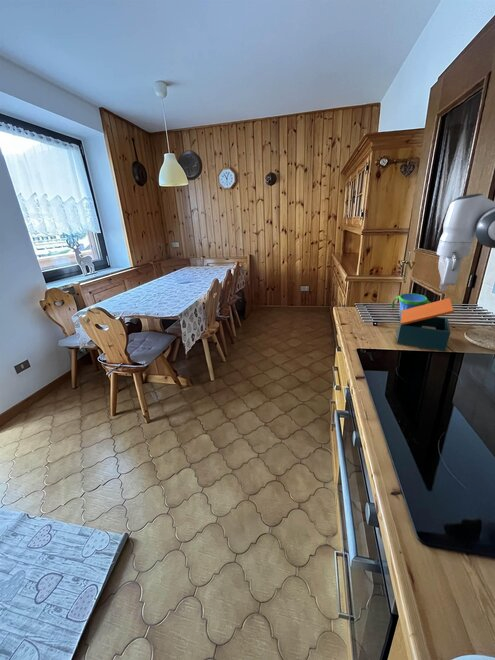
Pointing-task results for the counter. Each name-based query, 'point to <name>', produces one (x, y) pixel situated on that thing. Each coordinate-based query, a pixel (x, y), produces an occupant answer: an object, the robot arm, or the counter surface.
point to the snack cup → (410, 301)
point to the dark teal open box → (425, 333)
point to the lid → (426, 311)
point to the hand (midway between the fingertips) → (442, 289)
